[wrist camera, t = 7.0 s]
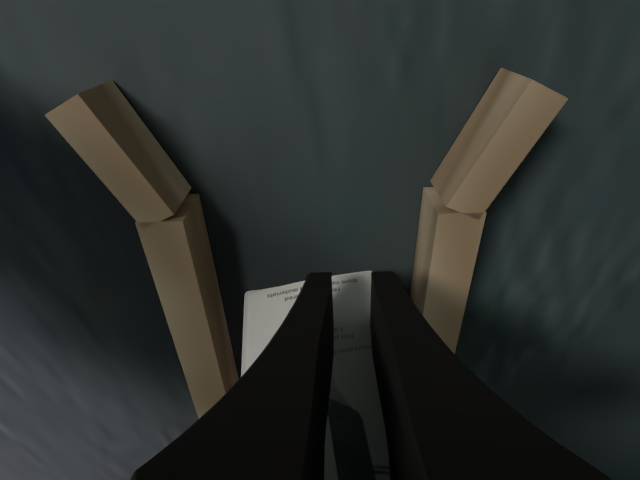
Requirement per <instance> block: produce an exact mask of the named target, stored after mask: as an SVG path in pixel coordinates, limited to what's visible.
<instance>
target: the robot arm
mask: <svg viewBox="0 0 640 480" xmlns="http://www.w3.org/2000/svg"><path fill="white" fill-rule="evenodd" d="M370 329H371V343H372V356H373V362H374V368H375V374H376V380H377V386H378V392H379V397H380V403H381V408H382V414H383V419H384V425H385V431H386V438H387V445H388V455H389V466H390V477H391V480H611V479H610V478H609V477H608V476H606V475H605V474H603V473H602V472H600V471H599V470H597V469H596V468H594V467H593V466H591V465H590V464H588V463H587V462H586V461H584V460H583V459H581V458H580V457H578V456H577V455H575V454H574V453H572V452H571V451H569V450H568V449H566V448H565V447H563V446H562V445H560V444H559V443H557V442H556V441H554V440H553V439H552V438H550V437H549V436H548V435H546V434H545V433H544V432H542V431H541V430H540V429H538V428H537V427H536V426H534V425H533V424H532V423H530V422H529V421H528V420H526V419H525V418H524V417H523V416H521V415H520V414H519V413H518V412H517V411H515V410H514V409H513V408H512V407H511V406H509V405H508V404H507V403H506V402H505V401H503V400H502V399H501V398H500V397H499V396H498V395H496V394H495V393H494V392H493V391H492V390H491V389H489V388H488V387H487V386H486V385H485V384H484V383H483V382H482V381H481V380H480V379H479V378H478V377H477V376H476V375H475V374H473V372H472V371H471V370H470V369H469V368H468V367H467V366H466V365H465V364H464V363H463V362H462V361H461V360H460V359H459V358H458V357H457V356H456V355H455V354H454V353H453V352H452V351H451V350H450V348H449V347H448V346H447V345H446V344H445V343H444V342H443V340H442V339H441V338H440V337H439V336H438V334H437V333H436V332H435V331H434V330H433V328H432V327H431V326H430V325H429V323H428V322H427V321H426V319H425V318H424V317H423V315H422V314H421V313H420V311H419V310H418V308H417V307H416V306H415V304H414V303H413V301H412V300H411V298H410V297H409V295H408V294H407V292H406V291H405V289H404V287H403V286H402V284H401V282H400V281H399V279H398V277H397V275H396V274H395V273H394V272H393V271H392V272H371V305H370ZM333 357H334V320H333V296H332V273H331V272H328V273H310V274H309V275H307V277H306V280H305V282H304V285H303V287H302V289H301V291H300V293H299V295H298V297H297V299H296V301H295V303H294V304H293V306H292V308H291V309H290V311H289V313H288V314H287V316H286V318H285V319H284V321H283V323H282V324H281V326H280V327H279V329H278V330H277V332H276V333H275V334H274V336H273V337H272V339H271V340H270V342H269V343H268V345H267V346H266V347H265V349H264V350H263V351H262V353H261V354H260V355H259V356H258V358H257V359H256V360H255V361H254V363H253V364H252V365H251V366H250V367H249V369H248V370H247V371H246V372H245V373H244V374H243V375H242V377H241V378H240V379H239V380H238V381H237V382H236V383H235V384H234V385H233V386H232V387H231V388H230V390H229V391H228V392H227V393H226V394H225V395H224V396H223V397H222V398H221V399H220V400H219V401H218V402H217V403H216V404H215V405H214V406H213V407H211V408H210V409H209V410H208V411H207V412H206V413H205V414H204V415H203V416H202V417H201V418H199V419H198V420H197V421H196V422H195V423H194V424H193V425H192V426H191V427H190V428H189V429H187V430H186V431H185V432H184V433H183V434H182V435H180V436H179V437H178V438H177V439H176V440H174V441H173V442H172V443H171V444H169V445H168V446H167V447H165V448H164V449H163V450H162V451H160V452H159V453H158V454H157V455H155V456H154V457H153V458H152V459H150V460H149V461H148V462H147V463H145V464H144V465H143V466H141V467H140V468H139V469H137V470H136V471H135V472H134V474H133V476H132V478H131V480H324V454H325V434H326V423H327V414H328V405H329V395H330V386H331V377H332V367H333Z"/></svg>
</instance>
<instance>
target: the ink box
mask: <svg viewBox="0 0 640 480" xmlns="http://www.w3.org/2000/svg"><path fill="white" fill-rule="evenodd" d="M371 272H373V271H361V272H355V273H348V274H341V275H334V276H332V296H333V320H334V357H333V367H332V377H331V386H330V395H329V405H328V414H327V423H326V434H325V454H324V480H391V477H390V466H389V455H388V445H387V438H386V431H385V425H384V419H383V414H382V408H381V403H380V397H379V392H378V386H377V380H376V374H375V368H374V362H373V356H372V343H371V329H370V305H371ZM304 282H305V281H301V282H296V283H292V284H287V285H283V286H278V287H272V288H267V289H261V290H252V291H247V292H246V293H245V296H244V319H243V340H242V366H241V377H242V375H243V374H244V373H245V372H246V371H247V370H248V369H249V367H250V366H251V365H252V364H253V363H254V361H255V360H256V359H257V358H258V356H259V355H260V354H261V353H262V351H263V350H264V349H265V347H266V346H267V345H268V343H269V342H270V340H271V339H272V337H273V336H274V334H275V333H276V332H277V330H278V329H279V327H280V326H281V324H282V323H283V321H284V319H285V318H286V316H287V314H288V313H289V311H290V309H291V308H292V306H293V304H294V303H295V301H296V299H297V297H298V295H299V293H300V291H301V289H302V287H303V285H304Z"/></svg>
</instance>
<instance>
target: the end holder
mask: <svg viewBox="0 0 640 480" xmlns="http://www.w3.org/2000/svg"><path fill="white" fill-rule="evenodd" d="M567 100H568V98H566V97H564V96H562V95H560V94H559V93H557V92H555V91H553V90H551V89H549V88H547V87H545V86H543V85H542V84H540V83H538V82H536V81H534V80H532V79H529V78H527V77H524V76H522V75H519V74H516V73H514V72H511V71H509V70H506V69H503V68H500V70H499V72H498V73H497V75H496V76H495V78H494V80H493V81H492V83H491V84H490V86H489V88H488V89H487V91H486V92H485V94H484V96H483V97H482V99H481V100H480V102H479V104H478V105H477V107H476V108H475V110H474V112H473V113H472V115H471V116H470V118H469V120H468V121H467V123H466V124H465V126H464V127H463V129H462V131H461V132H460V134H459V135H458V137H457V139H456V140H455V142H454V143H453V145H452V147H451V148H450V150H449V151H448V153H447V155H446V156H445V158H444V159H443V161H442V163H441V164H440V166H439V167H438V169H437V171H436V172H435V174H434V175H433V177H432V179H431V180H430V181H431V183H432V185H433V186H434V187H423V194H422V203H421V211H420V219H419V227H418V235H417V244H416V252H415V260H414V268H413V276H412V284H411V293H410V298H411V300H412V301H413V303H414V304H415V306H416V307H417V308H418V310H419V311H420V313H421V314H422V315H423V317H424V318H425V319H426V321H427V322H428V323H429V325H430V326H431V327H432V328H433V330H434V331H435V332H436V333H437V334H438V336H439V337H440V338H441V339H442V340H443V342H444V343H445V344H446V345H447V346H448V347H449V348H450V350H451V351H452V352H453V353H454V354H455V351H456V346H457V342H458V338H459V333H460V329H461V324H462V320H463V315H464V311H465V306H466V302H467V298H468V293H469V289H470V284H471V280H472V275H473V271H474V266H475V262H476V258H477V253H478V249H479V244H480V240H481V235H482V231H483V226H484V222H485V218H486V213H487V212H486V209H487V208H488V207H489V205H490V204H491V203H492V201H493V200H494V199H495V197H496V196H497V195H498V193H499V192H500V191H501V189H502V188H503V186H504V185H505V184H506V182H507V181H508V180H509V178H510V177H511V176H512V174H513V173H514V172H515V170H516V169H517V168H518V166H519V165H520V163H521V162H522V161H523V159H524V158H525V157H526V155H527V154H528V153H529V151H530V150H531V149H532V147H533V146H534V145H535V143H536V142H537V140H538V139H539V138H540V136H541V135H542V134H543V132H544V131H545V130H546V128H547V127H548V126H549V124H550V123H551V122H552V120H553V119H554V117H555V116H556V115H557V113H558V112H559V111H560V109H561V108H562V107H563V105H564V104H565V103H566V101H567ZM45 116H46V118H47V119H48V120H49V121H50V122H51V123H52V125H53V126H54V127H55V128H56V129H57V130H58V131H59V133H60V134H61V135H62V136H63V137H64V138H65V140H66V141H67V142H68V143H69V144H70V145H71V146H72V148H73V149H74V150H75V151H76V152H77V153H78V155H79V156H80V157H81V158H82V159H83V160H84V161H85V163H86V164H87V165H88V166H89V167H90V168H91V170H92V171H93V172H94V173H95V174H96V175H97V176H98V178H99V179H100V180H101V181H102V182H103V183H104V185H105V186H106V187H107V188H108V189H109V190H110V191H111V193H112V194H113V195H114V196H115V197H116V198H117V200H118V201H119V202H120V203H121V204H122V205H123V206H124V208H125V209H126V210H127V211H128V212H129V213H130V215H131V216H132V217H133V218H134V219H135V220H136V222H135V224H136V227H137V230H138V234H139V237H140V240H141V243H142V246H143V249H144V252H145V255H146V258H147V261H148V264H149V267H150V271H151V274H152V277H153V280H154V283H155V286H156V289H157V292H158V295H159V298H160V301H161V304H162V307H163V311H164V314H165V317H166V320H167V323H168V326H169V329H170V332H171V335H172V338H173V341H174V344H175V348H176V351H177V354H178V357H179V360H180V363H181V366H182V369H183V372H184V375H185V378H186V381H187V384H188V388H189V391H190V394H191V397H192V400H193V403H194V406H195V409H196V412H197V415H198V418H201V417H202V416H203V415H204V414H205V413H206V412H207V411H208V410H209V409H210V408H211V407H213V406H214V405H215V404H216V403H217V402H218V401H219V400H220V399H221V398H222V397H223V396H224V395H225V394H226V393H227V392H228V391H229V390H230V388H231V387H232V386H233V385H234V384H235V383H236V382H237V381H238V380H239V378H238V374H237V369H236V364H235V360H234V355H233V350H232V346H231V341H230V336H229V332H228V327H227V322H226V318H225V313H224V308H223V304H222V299H221V294H220V290H219V285H218V280H217V276H216V271H215V266H214V262H213V257H212V252H211V248H210V243H209V238H208V234H207V229H206V224H205V220H204V215H203V210H202V206H201V201H200V196H199V194H188V193H189V191H190V190H191V188H192V187H191V186H190V185H189V183H188V182H187V181H186V179H185V178H184V177H183V175H182V174H181V173H180V171H179V170H178V169H177V167H176V166H175V164H174V163H173V162H172V160H171V159H170V158H169V156H168V155H167V154H166V152H165V151H164V150H163V148H162V147H161V146H160V144H159V143H158V141H157V140H156V139H155V137H154V136H153V135H152V133H151V132H150V131H149V129H148V128H147V127H146V125H145V124H144V123H143V121H142V120H141V119H140V117H139V116H138V114H137V113H136V112H135V110H134V109H133V108H132V106H131V105H130V104H129V102H128V101H127V100H126V98H125V97H124V96H123V94H122V93H121V91H120V90H119V89H118V87H117V86H116V85H115V83H114V82H113V81H112V80H111V81H109V82H106V83H104V84H101V85H99V86H96V87H94V88H92V89H89V90H87V91H84V92H82V93H79V94H77V95H76V96H74V97H72V98H71V99H69V100H68V101H66V102H64V103H63V104H61V105H60V106H58V107H56V108H55V109H53V110H52V111H50V112H49V113H47V114H45Z"/></svg>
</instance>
